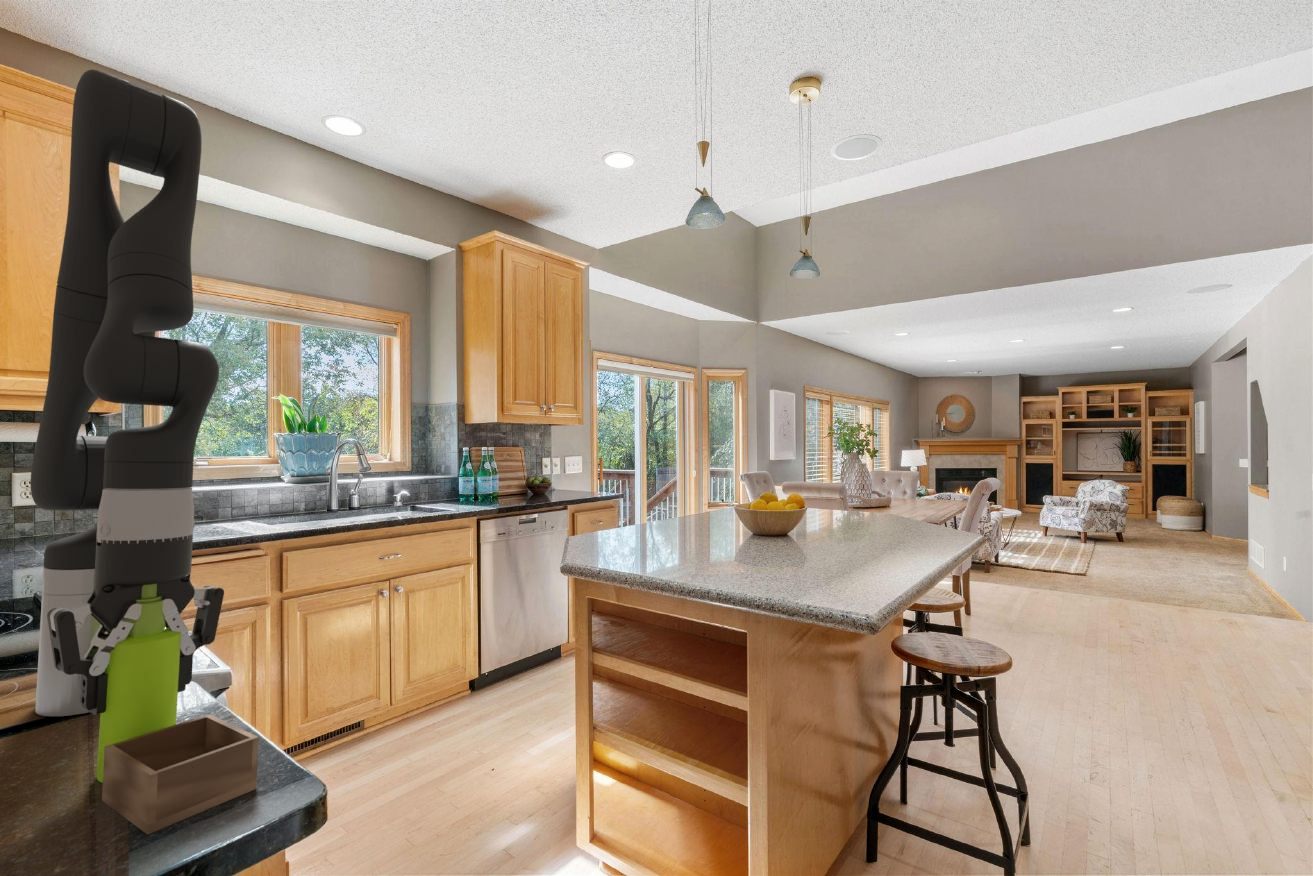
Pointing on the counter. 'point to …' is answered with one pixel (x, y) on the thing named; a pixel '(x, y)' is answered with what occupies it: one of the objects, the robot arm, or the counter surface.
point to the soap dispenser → (141, 678)
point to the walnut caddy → (179, 771)
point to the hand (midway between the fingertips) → (138, 700)
